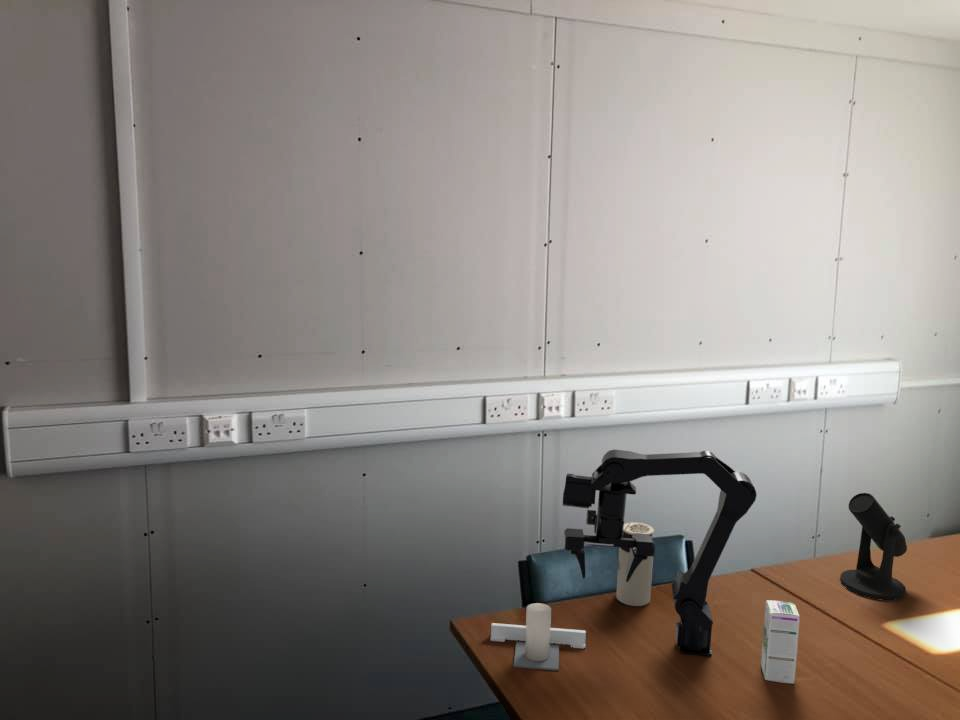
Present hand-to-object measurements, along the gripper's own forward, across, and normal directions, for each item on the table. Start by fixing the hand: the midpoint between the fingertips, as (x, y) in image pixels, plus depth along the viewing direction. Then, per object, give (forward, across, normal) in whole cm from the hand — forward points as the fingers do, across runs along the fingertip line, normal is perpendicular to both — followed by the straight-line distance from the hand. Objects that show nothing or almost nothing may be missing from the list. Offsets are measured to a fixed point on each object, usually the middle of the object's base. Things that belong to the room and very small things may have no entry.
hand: (605, 579), depth 165 cm
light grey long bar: (+13, +14, +4) cm, 19 cm away
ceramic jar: (+13, +14, +10) cm, 21 cm away
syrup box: (+12, -34, +12) cm, 38 cm away
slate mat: (+13, +14, +10) cm, 22 cm away
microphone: (+12, -71, -32) cm, 79 cm away
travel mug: (+13, -10, -18) cm, 24 cm away
